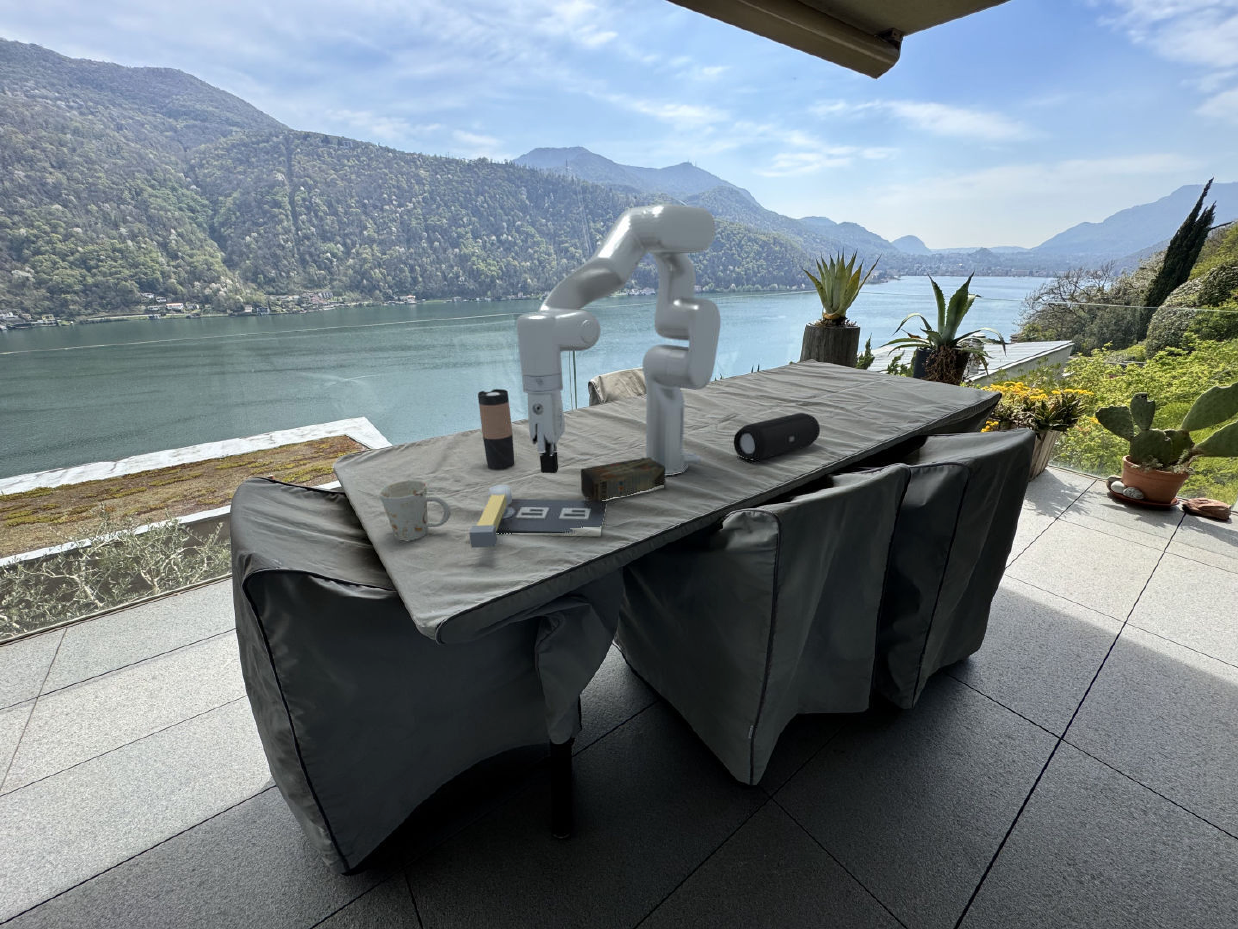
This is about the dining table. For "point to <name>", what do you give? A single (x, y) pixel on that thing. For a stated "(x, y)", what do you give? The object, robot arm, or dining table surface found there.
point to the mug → (410, 508)
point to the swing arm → (491, 517)
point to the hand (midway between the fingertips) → (549, 471)
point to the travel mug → (496, 428)
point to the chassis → (550, 515)
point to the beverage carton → (621, 478)
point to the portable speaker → (776, 436)
